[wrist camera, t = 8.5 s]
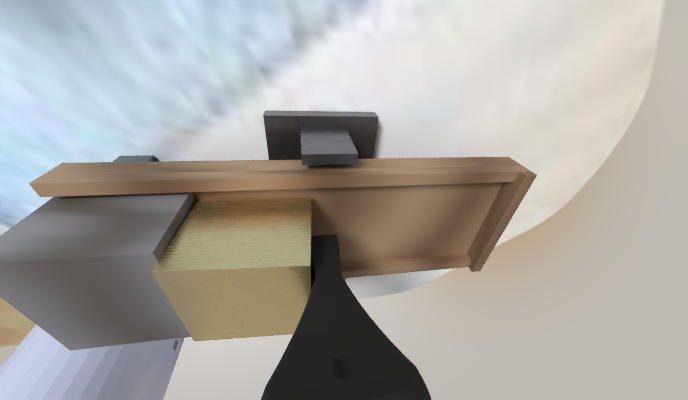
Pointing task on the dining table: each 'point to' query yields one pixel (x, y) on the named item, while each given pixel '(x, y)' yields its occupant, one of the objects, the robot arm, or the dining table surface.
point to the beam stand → (313, 137)
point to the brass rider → (240, 267)
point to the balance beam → (236, 182)
